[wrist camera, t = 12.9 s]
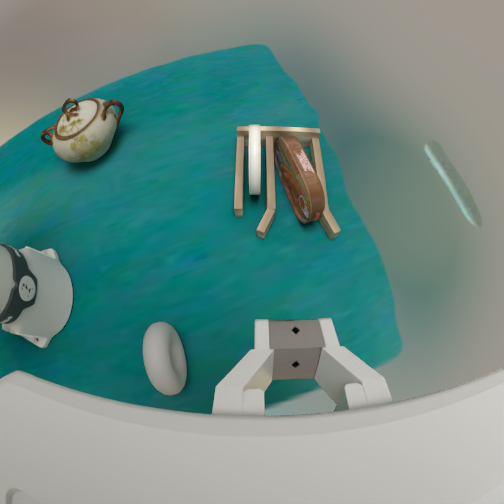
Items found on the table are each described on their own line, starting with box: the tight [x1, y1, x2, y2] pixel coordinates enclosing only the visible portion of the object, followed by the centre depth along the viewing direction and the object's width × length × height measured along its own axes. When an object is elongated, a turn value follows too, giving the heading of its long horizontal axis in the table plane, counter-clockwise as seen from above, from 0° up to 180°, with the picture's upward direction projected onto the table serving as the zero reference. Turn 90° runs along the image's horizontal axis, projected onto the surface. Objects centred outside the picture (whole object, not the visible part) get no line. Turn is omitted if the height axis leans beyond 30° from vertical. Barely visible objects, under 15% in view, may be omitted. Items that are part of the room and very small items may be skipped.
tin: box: [273, 136, 325, 224], centre depth 42 cm, size 15×3×8 cm, turn 17°
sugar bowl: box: [41, 98, 124, 163], centre depth 43 cm, size 20×15×15 cm
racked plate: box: [249, 125, 261, 195], centre depth 41 cm, size 2×11×11 cm, turn 0°
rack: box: [234, 126, 341, 240], centre depth 44 cm, size 16×19×4 cm
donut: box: [143, 322, 187, 395], centre depth 33 cm, size 10×3×10 cm, turn 11°
